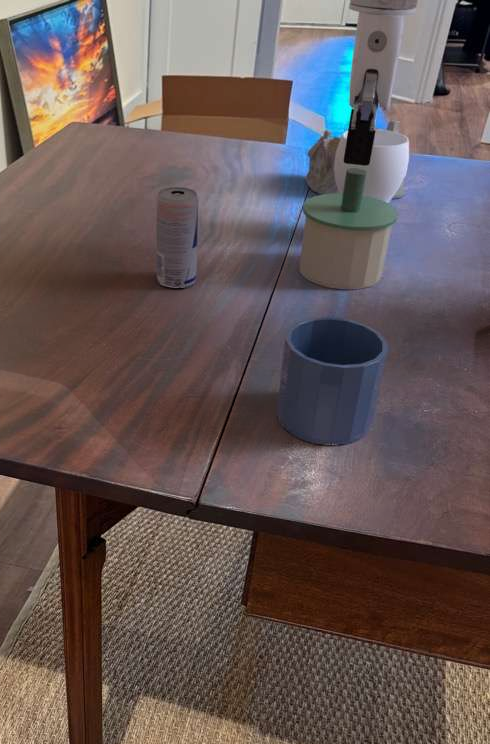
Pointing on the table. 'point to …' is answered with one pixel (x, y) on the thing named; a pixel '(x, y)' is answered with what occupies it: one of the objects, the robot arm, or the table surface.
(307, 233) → the tin
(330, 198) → the tin lid
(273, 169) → the table surface
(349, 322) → the tumbler
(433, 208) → the table surface
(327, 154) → the ceramic cottage
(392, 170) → the cup
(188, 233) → the energy drink
